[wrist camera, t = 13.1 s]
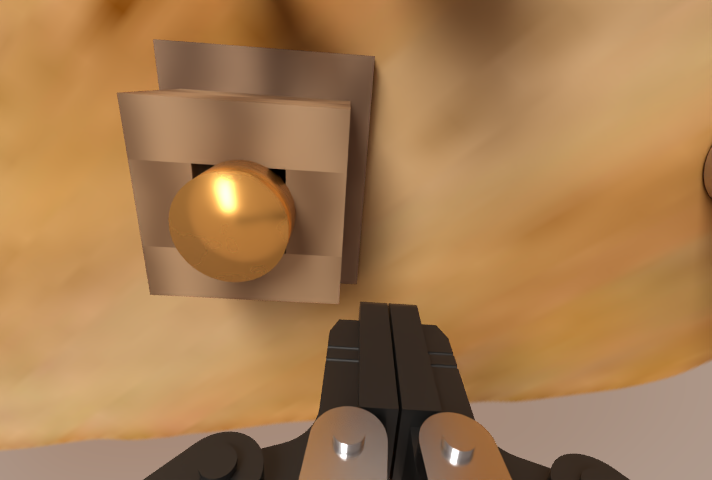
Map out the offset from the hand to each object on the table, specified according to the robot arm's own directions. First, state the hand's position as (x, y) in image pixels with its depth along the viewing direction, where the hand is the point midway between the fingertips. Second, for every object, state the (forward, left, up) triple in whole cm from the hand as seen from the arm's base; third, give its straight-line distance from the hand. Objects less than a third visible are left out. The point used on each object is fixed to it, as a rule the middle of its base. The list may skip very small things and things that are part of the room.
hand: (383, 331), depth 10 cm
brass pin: (+7, +1, -20) cm, 21 cm away
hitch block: (+7, +1, -22) cm, 23 cm away
